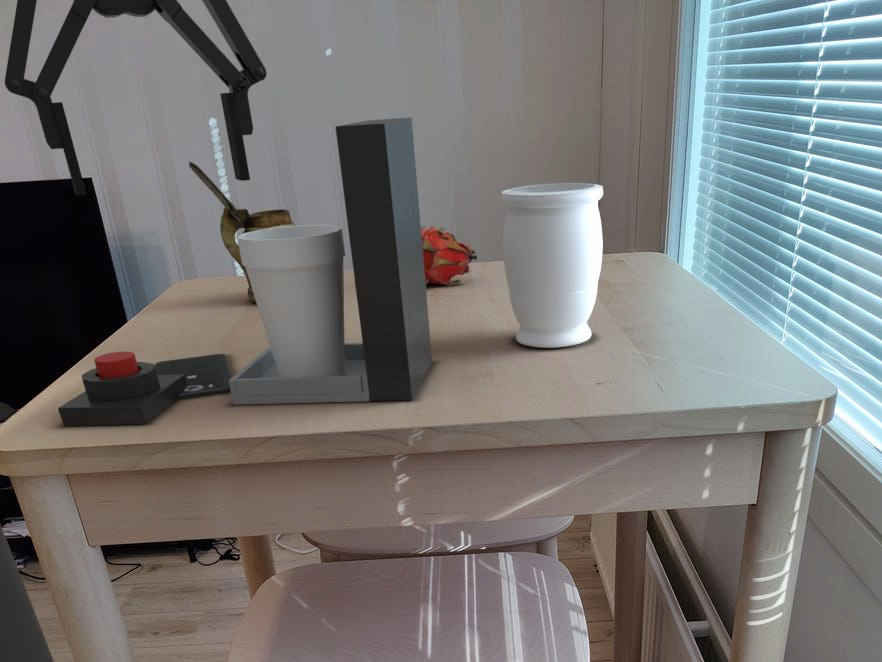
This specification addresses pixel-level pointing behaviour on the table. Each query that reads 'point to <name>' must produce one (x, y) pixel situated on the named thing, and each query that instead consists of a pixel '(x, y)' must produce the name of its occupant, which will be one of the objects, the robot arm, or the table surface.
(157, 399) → the panel
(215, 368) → the smartphone
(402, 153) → the coffee maker
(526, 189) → the jar
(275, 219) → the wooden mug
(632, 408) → the table surface
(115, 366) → the button
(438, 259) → the dragon fruit
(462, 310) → the table surface
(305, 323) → the foam cup
